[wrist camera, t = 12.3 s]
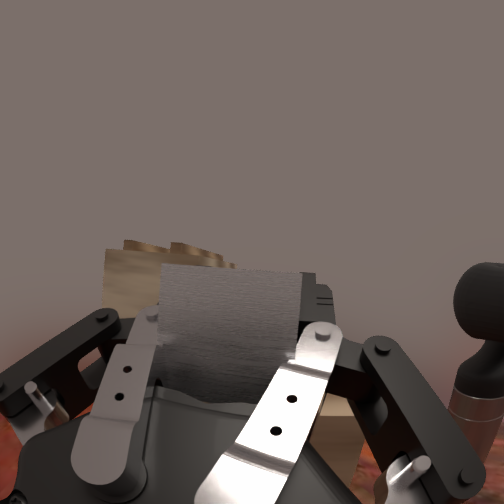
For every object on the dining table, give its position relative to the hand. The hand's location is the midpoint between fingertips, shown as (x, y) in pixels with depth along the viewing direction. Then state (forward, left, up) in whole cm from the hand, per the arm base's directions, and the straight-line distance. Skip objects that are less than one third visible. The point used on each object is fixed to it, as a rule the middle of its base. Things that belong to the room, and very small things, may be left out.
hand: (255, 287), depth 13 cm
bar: (-6, -3, -3) cm, 7 cm away
